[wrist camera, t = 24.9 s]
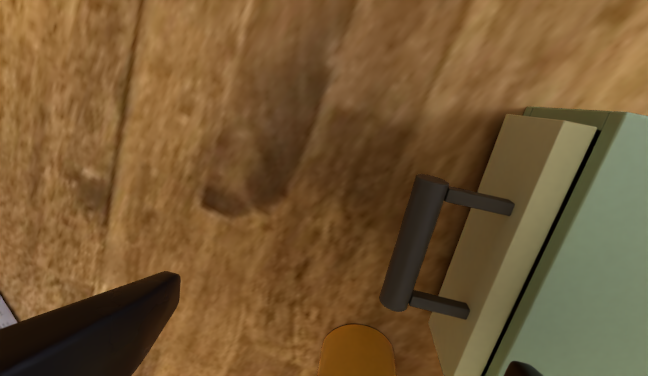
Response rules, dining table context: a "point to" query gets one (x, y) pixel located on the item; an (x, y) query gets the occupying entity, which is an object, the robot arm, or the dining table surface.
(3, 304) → the coffee box
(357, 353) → the pepper mill
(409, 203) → the drawer
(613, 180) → the cabinet
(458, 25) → the dining table surface
